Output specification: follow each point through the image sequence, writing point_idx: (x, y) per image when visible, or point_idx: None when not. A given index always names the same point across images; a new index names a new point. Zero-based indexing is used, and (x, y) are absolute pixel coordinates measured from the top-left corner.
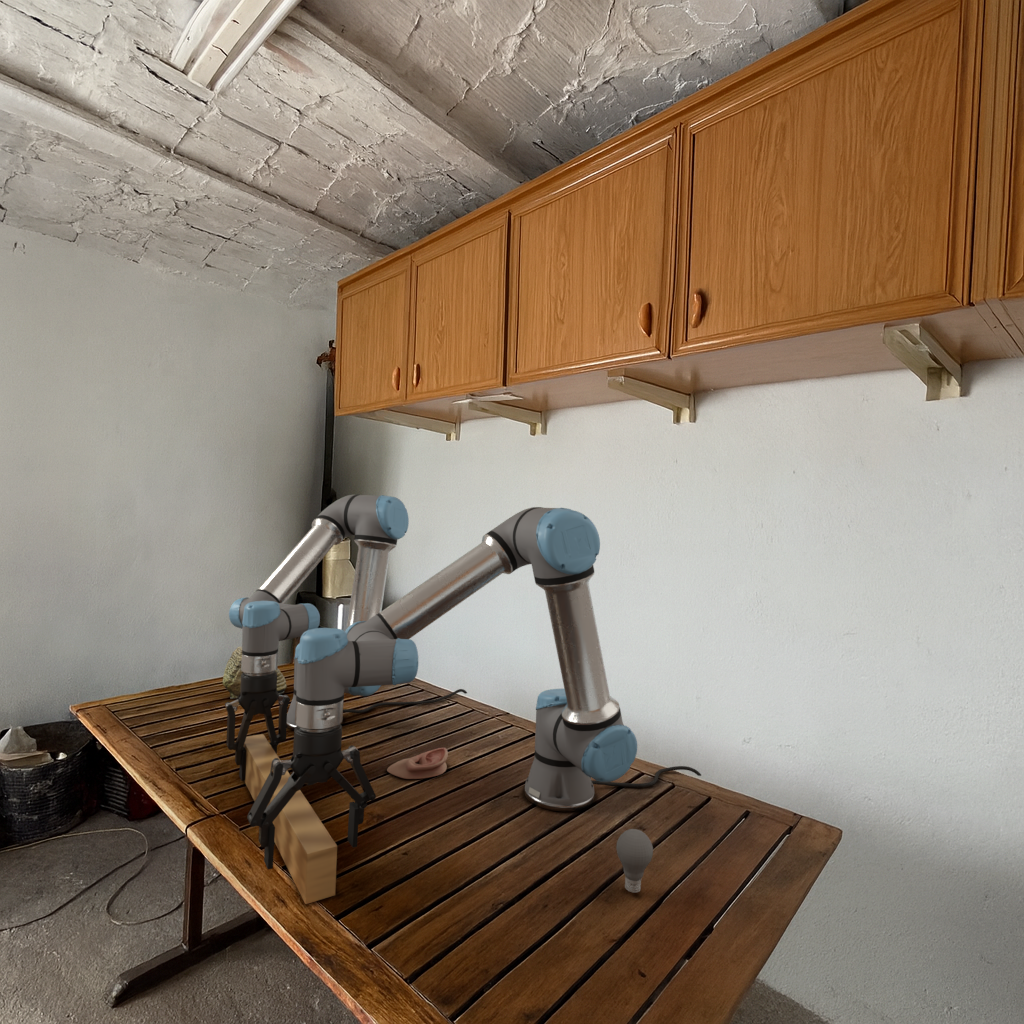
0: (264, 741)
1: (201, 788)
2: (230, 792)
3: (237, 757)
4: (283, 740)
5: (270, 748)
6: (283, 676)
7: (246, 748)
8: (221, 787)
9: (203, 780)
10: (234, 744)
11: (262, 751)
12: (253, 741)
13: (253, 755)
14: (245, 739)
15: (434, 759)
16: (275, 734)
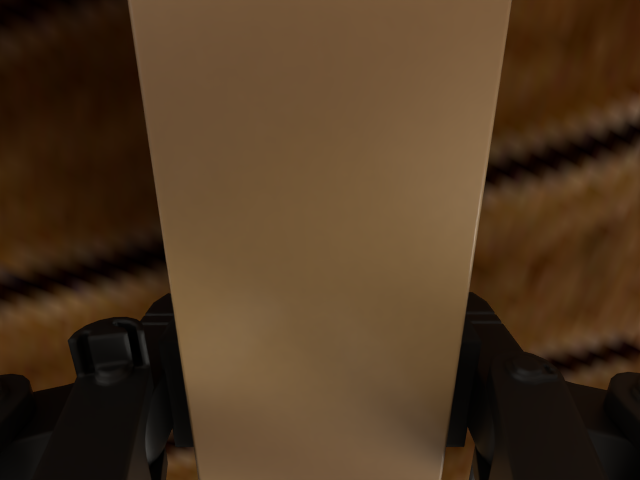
0: (229, 431)
1: (615, 263)
2: (500, 131)
3: (495, 330)
4: (4, 380)
5: (185, 184)
6: None
7: (451, 358)
8: (520, 226)
9: (567, 351)
10: (613, 433)
11: (315, 116)
12: (344, 473)
13: (483, 9)
14: (508, 460)
15: None
16: (48, 461)
